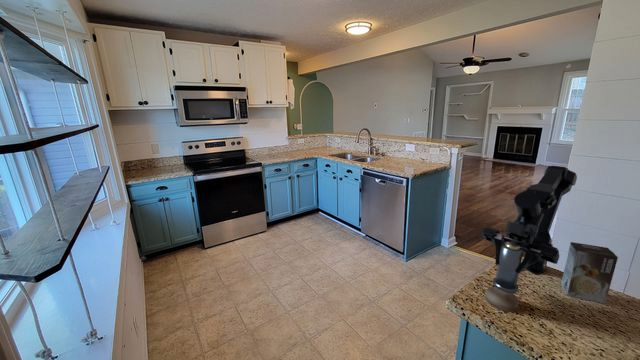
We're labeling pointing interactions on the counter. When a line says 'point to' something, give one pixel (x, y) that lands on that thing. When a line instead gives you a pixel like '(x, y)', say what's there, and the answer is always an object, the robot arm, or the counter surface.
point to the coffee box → (588, 272)
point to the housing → (508, 267)
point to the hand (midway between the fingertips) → (506, 268)
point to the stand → (501, 299)
